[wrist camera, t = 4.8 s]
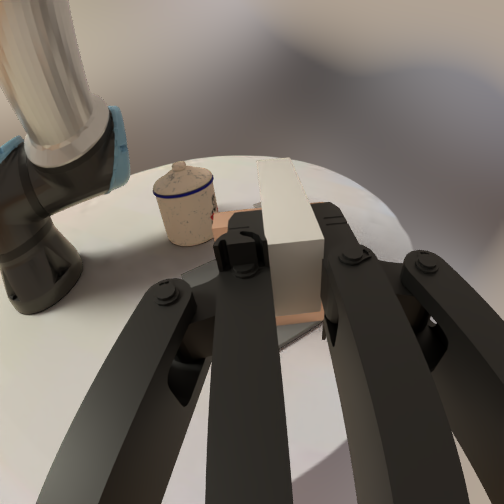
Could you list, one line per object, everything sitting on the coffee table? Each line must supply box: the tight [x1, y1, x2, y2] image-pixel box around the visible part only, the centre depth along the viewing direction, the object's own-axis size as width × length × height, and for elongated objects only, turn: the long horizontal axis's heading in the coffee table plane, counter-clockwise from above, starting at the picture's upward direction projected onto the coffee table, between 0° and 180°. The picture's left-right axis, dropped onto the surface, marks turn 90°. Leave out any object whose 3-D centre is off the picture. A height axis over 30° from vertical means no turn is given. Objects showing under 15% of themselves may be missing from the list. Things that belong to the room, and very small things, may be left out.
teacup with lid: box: [153, 161, 218, 246], centre depth 44 cm, size 12×9×12 cm
